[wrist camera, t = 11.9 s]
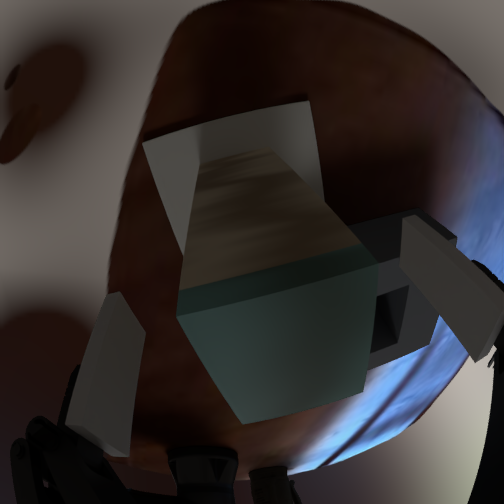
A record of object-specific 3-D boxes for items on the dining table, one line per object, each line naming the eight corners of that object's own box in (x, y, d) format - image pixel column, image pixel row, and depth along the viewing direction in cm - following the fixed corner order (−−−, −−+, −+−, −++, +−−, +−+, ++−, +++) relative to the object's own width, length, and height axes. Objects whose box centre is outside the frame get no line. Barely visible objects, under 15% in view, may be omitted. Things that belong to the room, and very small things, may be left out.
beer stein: (239, 475, 61) (252, 534, 45) (257, 466, 57) (274, 531, 40) (284, 472, 67) (299, 524, 51) (304, 461, 63) (322, 519, 46)
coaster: (193, 275, 25) (193, 279, 24) (143, 142, 18) (142, 143, 18) (327, 241, 24) (329, 243, 24) (306, 100, 18) (309, 101, 18)
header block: (283, 350, 31) (294, 393, 26) (258, 248, 24) (271, 294, 19) (405, 310, 31) (429, 344, 26) (418, 207, 24) (457, 237, 19)
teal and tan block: (223, 241, 23) (242, 424, 10) (199, 164, 19) (176, 316, 6) (284, 226, 23) (362, 391, 10) (268, 146, 19) (378, 263, 6)
